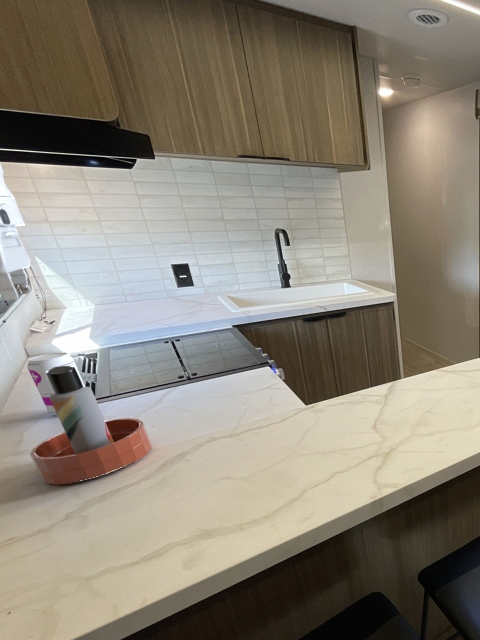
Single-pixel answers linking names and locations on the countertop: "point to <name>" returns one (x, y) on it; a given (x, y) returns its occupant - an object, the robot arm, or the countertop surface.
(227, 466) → the countertop surface
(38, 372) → the supplement can
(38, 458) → the bowl
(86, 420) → the lotion bottle
